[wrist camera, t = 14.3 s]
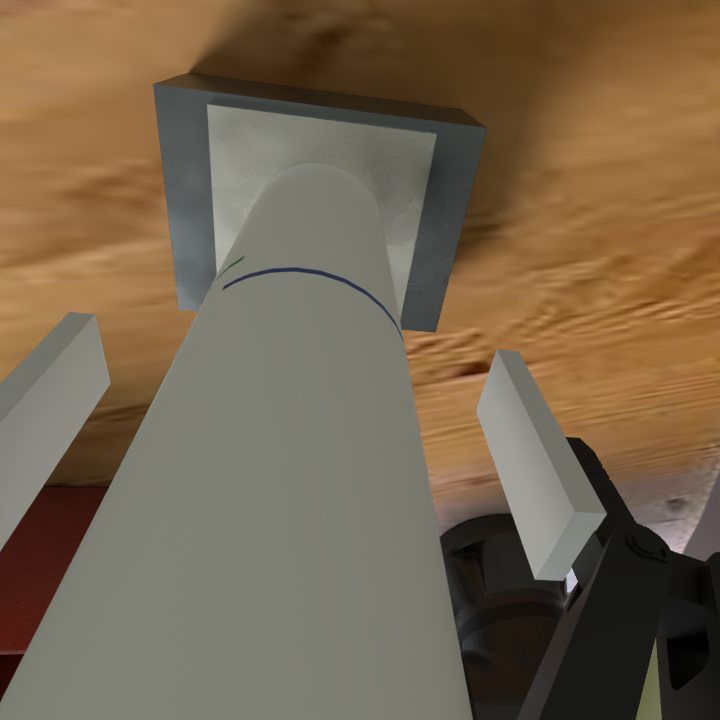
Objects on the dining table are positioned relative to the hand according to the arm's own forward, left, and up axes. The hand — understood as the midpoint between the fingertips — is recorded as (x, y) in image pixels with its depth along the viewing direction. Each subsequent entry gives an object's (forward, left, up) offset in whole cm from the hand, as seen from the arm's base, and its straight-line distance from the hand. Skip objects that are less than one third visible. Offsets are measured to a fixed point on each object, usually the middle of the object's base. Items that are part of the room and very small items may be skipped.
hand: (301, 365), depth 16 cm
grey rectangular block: (0, 0, -19) cm, 19 cm away
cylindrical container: (0, 0, -12) cm, 12 cm away
